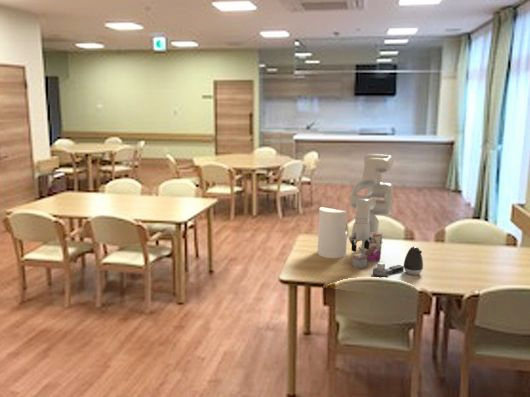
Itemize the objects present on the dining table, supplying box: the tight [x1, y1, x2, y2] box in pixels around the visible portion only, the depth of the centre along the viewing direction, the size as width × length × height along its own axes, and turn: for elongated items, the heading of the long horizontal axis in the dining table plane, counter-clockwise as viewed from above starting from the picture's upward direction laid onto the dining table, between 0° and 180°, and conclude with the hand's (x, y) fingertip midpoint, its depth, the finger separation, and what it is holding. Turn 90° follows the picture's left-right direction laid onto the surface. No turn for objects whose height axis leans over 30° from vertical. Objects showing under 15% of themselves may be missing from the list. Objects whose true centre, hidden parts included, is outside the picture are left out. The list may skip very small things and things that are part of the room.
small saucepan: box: [372, 261, 405, 278], centre depth 274 cm, size 20×8×7 cm, turn 123°
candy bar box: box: [360, 232, 383, 262], centre depth 295 cm, size 11×5×16 cm, turn 71°
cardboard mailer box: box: [351, 252, 368, 270], centre depth 283 cm, size 6×6×7 cm
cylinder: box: [317, 206, 348, 259], centre depth 303 cm, size 17×17×28 cm
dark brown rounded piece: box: [403, 246, 424, 276], centre depth 274 cm, size 10×10×15 cm
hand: (360, 250), depth 281 cm, fingers open, 9 cm apart
